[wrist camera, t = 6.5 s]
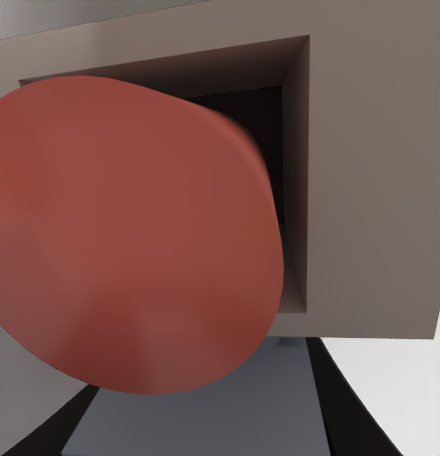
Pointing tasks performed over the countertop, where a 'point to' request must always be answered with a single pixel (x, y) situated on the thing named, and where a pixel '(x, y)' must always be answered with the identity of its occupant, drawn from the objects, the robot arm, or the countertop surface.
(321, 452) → the carriage
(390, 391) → the countertop surface
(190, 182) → the red rounded piece
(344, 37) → the cabinet
